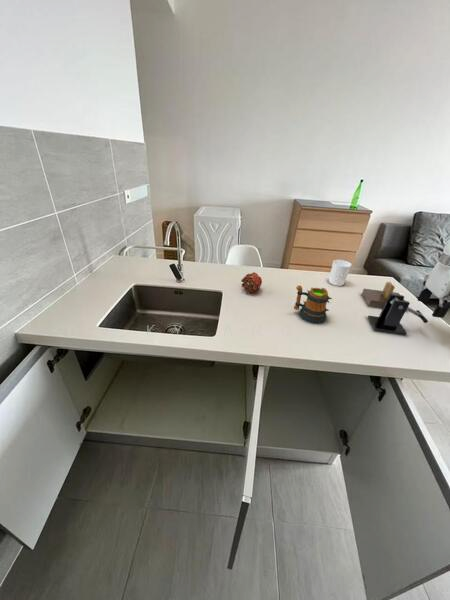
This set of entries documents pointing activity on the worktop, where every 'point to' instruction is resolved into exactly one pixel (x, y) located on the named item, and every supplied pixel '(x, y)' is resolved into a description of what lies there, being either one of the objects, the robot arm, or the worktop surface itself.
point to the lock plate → (375, 298)
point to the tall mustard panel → (387, 289)
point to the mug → (313, 304)
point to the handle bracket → (390, 316)
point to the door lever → (413, 311)
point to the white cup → (339, 272)
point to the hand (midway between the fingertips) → (429, 308)
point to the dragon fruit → (252, 282)
